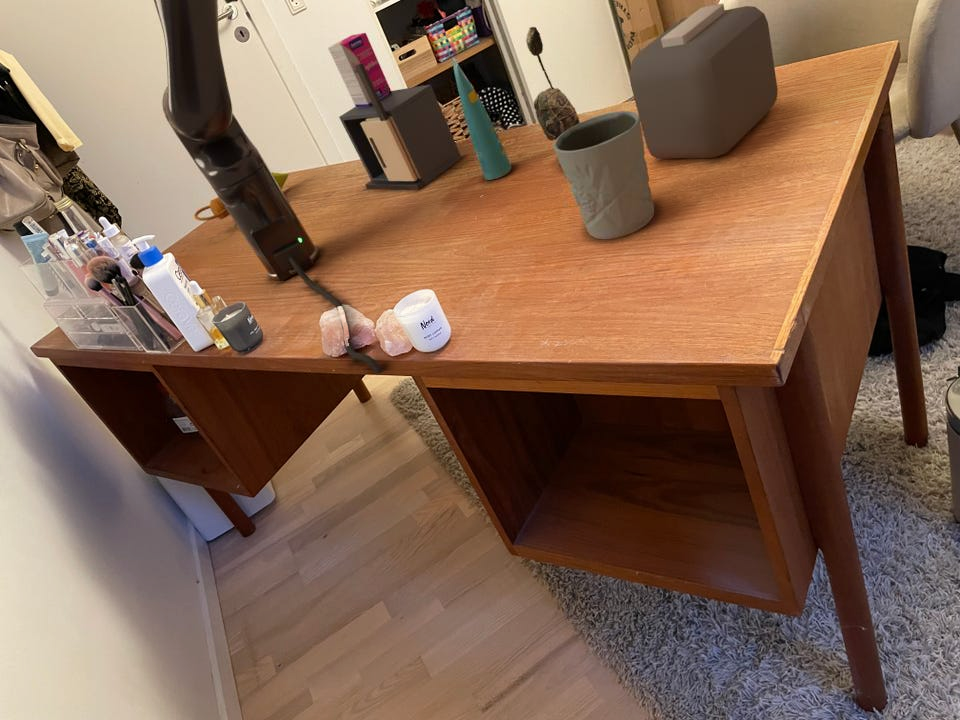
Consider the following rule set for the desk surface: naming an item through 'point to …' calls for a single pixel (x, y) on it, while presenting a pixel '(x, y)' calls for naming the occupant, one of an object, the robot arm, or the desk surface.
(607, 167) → the grey embossed cup
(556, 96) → the plant with pod
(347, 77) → the supplement box
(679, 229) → the desk surface
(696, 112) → the alarm clock
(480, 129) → the teal cone
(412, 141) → the closet
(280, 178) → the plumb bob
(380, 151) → the door
